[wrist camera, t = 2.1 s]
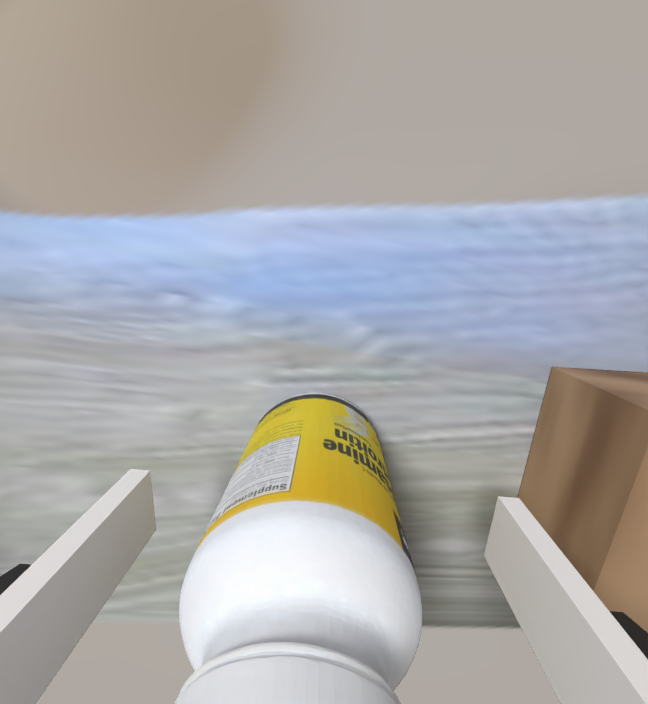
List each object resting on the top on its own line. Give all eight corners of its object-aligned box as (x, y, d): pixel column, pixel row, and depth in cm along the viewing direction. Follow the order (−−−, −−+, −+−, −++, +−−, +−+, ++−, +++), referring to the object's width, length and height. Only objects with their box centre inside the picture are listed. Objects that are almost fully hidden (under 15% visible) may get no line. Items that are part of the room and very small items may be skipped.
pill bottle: (386, 488, 17) (498, 933, 6) (270, 505, 17) (157, 949, 6) (367, 376, 15) (472, 688, 4) (239, 398, 16) (4, 736, 4)
